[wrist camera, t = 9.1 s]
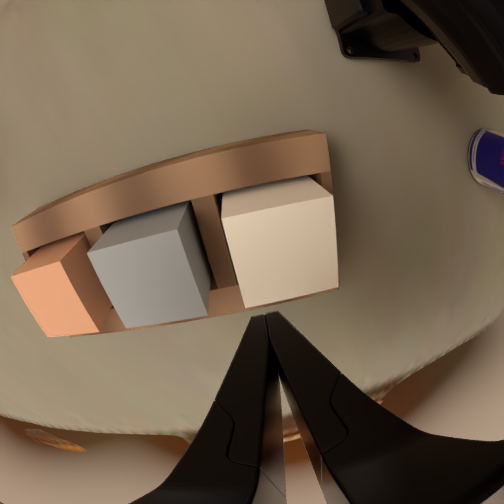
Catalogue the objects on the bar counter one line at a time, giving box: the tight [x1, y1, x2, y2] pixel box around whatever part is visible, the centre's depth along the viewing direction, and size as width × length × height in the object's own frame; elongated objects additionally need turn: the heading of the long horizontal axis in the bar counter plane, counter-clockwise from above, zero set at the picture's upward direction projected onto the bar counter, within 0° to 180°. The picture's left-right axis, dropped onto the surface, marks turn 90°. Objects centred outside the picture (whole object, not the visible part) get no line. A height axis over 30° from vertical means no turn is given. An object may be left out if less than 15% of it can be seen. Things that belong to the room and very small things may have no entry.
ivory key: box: [221, 175, 338, 308], centre depth 15 cm, size 5×5×4 cm
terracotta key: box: [11, 231, 113, 337], centre depth 15 cm, size 5×5×4 cm
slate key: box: [87, 200, 211, 328], centre depth 15 cm, size 5×5×4 cm
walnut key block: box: [11, 130, 339, 337], centre depth 17 cm, size 21×10×4 cm, turn 101°
